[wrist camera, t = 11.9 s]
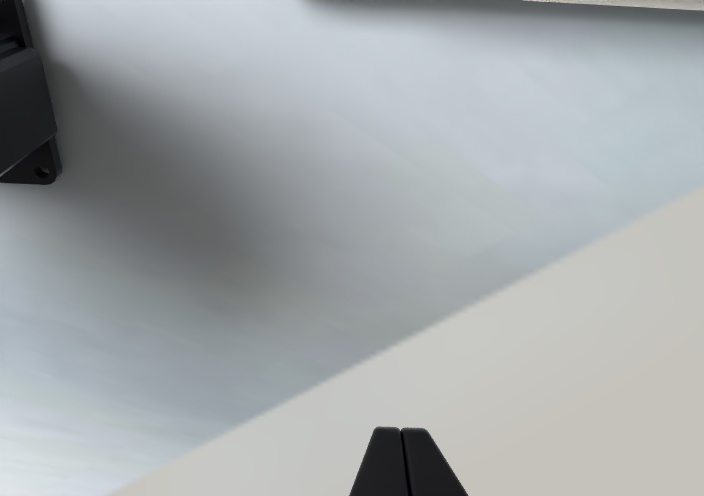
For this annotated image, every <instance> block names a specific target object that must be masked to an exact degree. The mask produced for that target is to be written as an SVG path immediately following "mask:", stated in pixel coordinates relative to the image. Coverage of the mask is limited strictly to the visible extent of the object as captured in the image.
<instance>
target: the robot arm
mask: <svg viewBox="0 0 704 496" xmlns="http://www.w3.org/2000/svg"><path fill="white" fill-rule="evenodd" d="M56 132H57V126H56V122H55V118H54V113H53V109H52V105H51V100H50V96H49V92H48V88H47V83H46V79H45V75H44V71H43V66H42V62H41V58H40V56H39V54H38V53H37V52H36V51H35V50H34V49H33V45H32V40H31V36H30V32H29V28H28V24H27V20H26V15H25V11H24V7H23V3H22V0H5V1H4V2H1V1H0V183H19V184H40V185H47V184H51V183H53V182H54V181H55V180H56V179H58V178H59V177H60V175H61V173H62V166H61V162H60V158H59V154H58V150H57V145H56V141H55V137H54V134H55V133H56ZM40 164H41V165H44V166H45V167H47V168H48V170H49V173H45V172H44V171H42V170H41V168H40ZM349 496H468V494H467V493H466V491H465V489H464V488H463V486H462V485H461V483H460V482H459V480H458V478H457V477H456V475H455V474H454V472H453V470H452V469H451V467H450V466H449V464H448V462H447V461H446V459H445V458H444V456H443V455H442V453H441V451H440V450H439V448H438V447H437V445H436V444H435V442H434V440H433V439H432V437H431V435H430V434H429V432H428V431H427V430H425V429H423V428H403V429H401V431H400V430H399V428H396V427H376V428H375V429H374V431H373V434H372V437H371V439H370V442H369V445H368V447H367V450H366V453H365V455H364V458H363V461H362V463H361V466H360V468H359V471H358V474H357V476H356V479H355V482H354V485H353V487H352V490H351V493H350V495H349Z"/></svg>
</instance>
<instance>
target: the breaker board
mask: <svg viewBox="0 0 704 496" xmlns="http://www.w3.org/2000/svg"><path fill="white" fill-rule="evenodd" d="M524 1H542V2H560V3H577V4H595V5H613V6H631V7H648V8H666V9H684V10H702V11H704V0H524Z"/></svg>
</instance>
